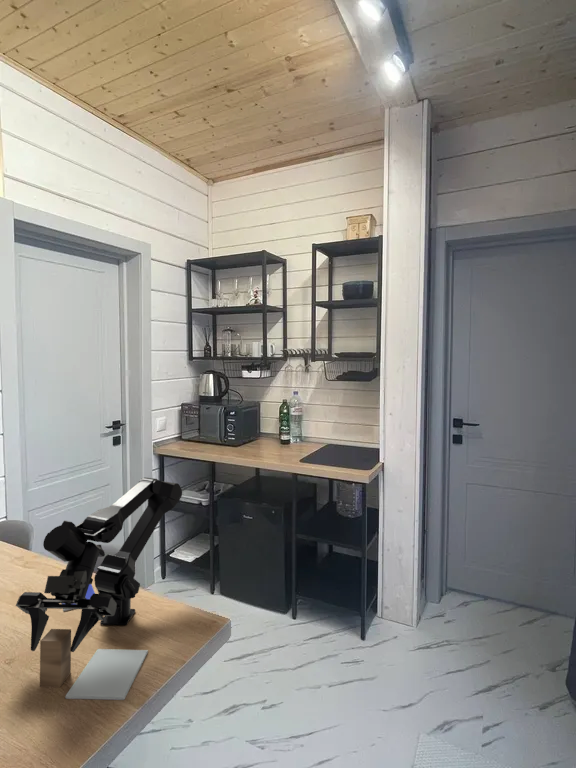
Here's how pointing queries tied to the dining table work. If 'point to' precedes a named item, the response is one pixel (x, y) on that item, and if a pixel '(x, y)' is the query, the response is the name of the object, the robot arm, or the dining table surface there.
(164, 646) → the dining table surface
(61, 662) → the walnut block
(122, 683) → the mat
